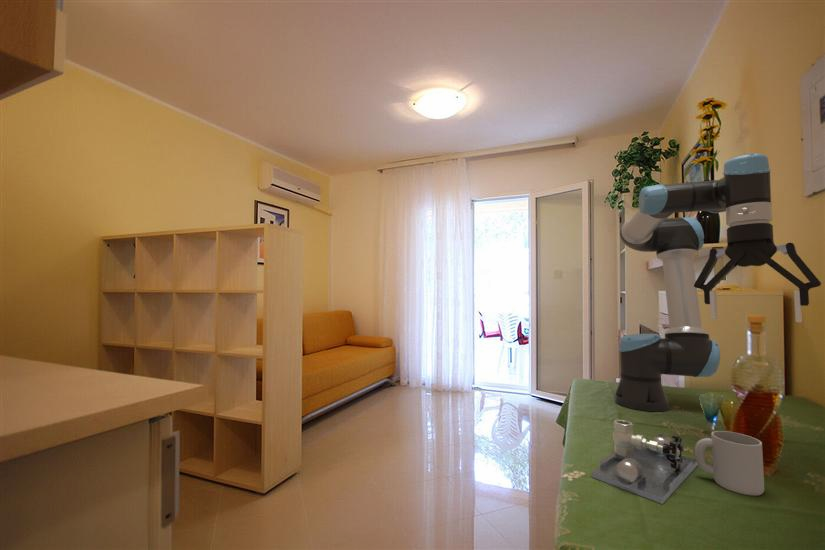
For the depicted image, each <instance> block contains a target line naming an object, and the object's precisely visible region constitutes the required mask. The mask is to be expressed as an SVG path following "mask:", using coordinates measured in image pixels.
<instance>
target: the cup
mask: <svg viewBox="0 0 825 550" xmlns="http://www.w3.org/2000/svg"><path fill="white" fill-rule="evenodd" d="M708 447H709V448H710V447H711V457H712V458H711V459H712V465H710V464H709V463H708V462H707V460H706V457H705V455H706V454H705V453H706V449H707V448H708ZM693 449H694V450H693V451H694V453H693V454H694V459H695V460H696V462H697V464H698V467H699V468H700V469H702V471H703V472H706V473H708V474H711V475H712V477H713V479H714V481H715V482H716V484H717V485H718V486H720V487H722V488H723V489H725V490H727V491H730V492H734V493H736V494H740V495H744V496H751V497H757V496H762V495H763V494H764V492H765V475H764V474H765V473H764V472H765V471H764V458H763V456H764V454H763V442H762V441H761V440H759V439H758V438H756V437H752V436H751V435H746V434H743V433H740V432H739V433H738V432H733V431H726V430H715V431H712V432H711V438H709V437H705V438H701V439H699V440H698V441H697V442H696V443H695V445H694V448H693Z"/></svg>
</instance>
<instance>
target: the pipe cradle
mask: <svg viewBox="0 0 825 550" xmlns="http://www.w3.org/2000/svg"><path fill="white" fill-rule="evenodd" d="M650 440H651V441H655V442H658V443H659V445H662V446H663V444H668V443H669V442H670V441H673V440H672V438H670V436H668V435H666V434H662V433H660V434H657V435H656V436H654V437H653V438H652V439H650ZM633 448H634V456H632V457H624V456H620V455H618V454H616V453H615V451H613V452H612V453H610V454H609V455H607V456H605V457H603V458H602V459H601V460H599V466H598V467H596V468H595V469H593V470H592V471H591V475H590V476H591V478H593V479H595V480H598V481H601V482H603V483H606V484H608V485H611V486H613V487H616V488H619V489H622V490H623V491H627V492H629V493H632V494H634V495H637V496H640V497H643V498H646V499H648V500H650V501H653V502H655V503H659V504H660V505H664V503H665V502H666V501H667V500H668V499H669V497H671V496H672V495H673V494H674V492H675V491H676V490H677V489H678V488H679V487H680V486H681V484H682V483H684V481H685V480H686V479H687V478H688V477H689V476H690V475H691V474H692V473H693V471H694V470H695V469H696V468H697V466H698V467H699V465H698V464H697V462H696V459H695V458H690V457H687V456H684V455H682V457H683V463H680V465H681V469H680V470H677V469H674V468H671V466H670V464H671V463H672V462H670V461H669V460H668V459H667V457H666V455H665V454H663V451H661V450H658V452H656V451H653V450H650V449H649V448H648V447H647V449H646V448H644V450H643V451H642V450H638V449H636V447H634V446H633Z"/></svg>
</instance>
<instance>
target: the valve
mask: <svg viewBox="0 0 825 550" xmlns="http://www.w3.org/2000/svg"><path fill="white" fill-rule="evenodd" d="M671 437H672V438H671V439H674V440H672V441H670V442H669V443H668V444H663V446H662V445H659V443H658V442H655V441H651V440H652V439H650V440H649V441H648V440H647V439H646V438H645V435H643V434H639V433H638V434H634V424H633V422H631V421H629V420H625V419H614V420H613V431H612V440H613V442H614V445H613V447H614V452H615V453H616V454H618V455H620V456H624V457H632V456H634V448H633V446H634V447H636V449H638V450H642V451H643V450H644V448H646V449H647V447H648V448H649V449H650V450H653V451H656V452H658V450H661V451H663V454H665V455H666V457H667V459H668V460H669V461H670V462H672V463H671V464H670V466H671V468H674V469H677V470H680V469H681V465H680V463H683V457H682V456H683V455H682V454H683V453H684V450H685V447H684V445H682V443H683V438H682V437H683V436H680V435H678V434H674V433H673V434H672V436H671Z"/></svg>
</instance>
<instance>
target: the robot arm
mask: <svg viewBox="0 0 825 550" xmlns="http://www.w3.org/2000/svg"><path fill="white" fill-rule="evenodd" d="M771 171H772V169H771V168H770V164H769V157H768V156H767V155H766V154H763V153H750V154H743V155H740V156H735V157H733V158H731V159H728V160H727V161H726V162H724V165H723V172H722V175H723V177H722V178H719V179H715V180H713V179H712V180H703V181H692V182H681V183H668V184H662V183H661V184H655V185H654V184H653V185H649V186H644V187H642V188H641V190H639V191H640V192H639V196H638V210H637V211H636V212H635V214H634V215H633V216H632V218H629V219H627V220H626V221H625V222H624V223H623V224H622V225H621V228H620V230H619V237H620V240H621V241H622V243H623V244H624V245H625V246H626V247H628V248H629V249H632V250H634V251H638V252H643V253H644V252H646V253H647V252H649V253H652V252H654V253H656V258H657V259H658V260H660V261H661V262H662V268H663V278H664V286H665V287H664V290H665V297H666V298H665V299H666V305H667V306H666V308H667V318H668V325H669V329H668V330H667V331H665V332H664V338H661V335H660V334H658V333H634V334H627V335H623V336H621V337H620V339H619V346H618V347H619V348H618V352H619V372H620V373H619V377H620V378H619V382H618V386H617V388H616V390H615V393H614V394H615V395H614V401H615V403H616V404H617V405H619V406H622V407H625V408H629V409H633V410H637V411H638V410H639V411H646V412H665V411H668V410H669V409H670V402H669V398H668V396H667V394H666V392H665V389H664V387H663V384H662V375H665V376H666V375H668V376H679V377H680V376H681V377H694V378H698V377H699V378H701V377H702V378H709V377H712V376H713V375H715V374H716V372H717V371H718V370H719V369H718V368H719V367H720V361H721V349H720V346H719V344H718V342H717V341H715V340H713V339H711V338H710V334H709V333H708V332H707V331H706V330H705V329H703V326H702V318H701V311H700V303H699V294H698V289H700V290H702V291H703V296H704V298H703V300H704V304H705V305H709V309H710V312H709V313H710V319H711V320H717V319H718V301H717V299H718V298H717V290H713V289H714V288H715V287H716V286H717V285H718V284H719V283H720V282H721V281H722V280H723V279H724V278H726V276H728V275H729V274H730V273H731V271H732V270H734V269H736V267H737V266H738V267H741V268H747V267H751V266H752V267H753V266H754V267H762V266H764V265H765V264H767V265H768V266H769V267H771V269H773V270H774V271H776V272H777V273H778V274H780V275H781V276H782V277H783V278H785V279H786V280H788V281H789V282H790V283H792V284H793V285H794V286H795V287H796V288H798V290H796V289H795V290H793V297H794V312H795V313H794V314H795V316H794V317H795V323H802V322H803V313H802V311H803V310H802V306H803V307H806V306H807V307H808V306H809V305H810V296H809V291H810V290H811V289H815V288H818V287H820V286H822V282H821V281H820V280H819V278H818V277H817V276H816V275H815V274H814V273H813V272H812V270H811V269H810V267H808V265H807V264H806V262H804V260H803V259H802V258H801V257H800V256H799V255H798V253H797V249H796V248H797V247H796V245H795V244H794V243H793V242H787V243H785V244H779V245H776V244H775V241H774V240H775V239H774V227H773V226H774V225H773V224H772V223H770V222H772V221H773V206H772V194H771ZM692 212H693V213H694V212H708V213H712V214H719V213H720V214H721V213H724V212H725V218H726V219H725V221H726V224H725V225H726V226H728V228H726V242H727V244H726V245H727V246H726V248H725V249H716V248H711V249H710V250H709V254H708V255H709V257H708V259H707V261H706V262H705V265H704V266H703V268H702V270H701V272H700V273H699V275H698V277H697V279H696V272H695V271H696V270H695V263H694V259H695V257H696V256H698V254H699V250H701V249H702V248H703V247H704V243H705V241H704V239H705V234H704V230H703V229H704V228H703V227H702V224H701V223H700V222H699V220H697V219H696V218H694V217H690V216H689V217H688V216H687V217H681V216H678V217H670V216H671V215H673V214H676V213H692ZM777 251H778V252H781V253H782V254H783V255H788V257H789V258H790V260H791V261H792V262H793V263H794V265H796V267H797V268H798V269H799V270H800V272H801V273H802V274H803V275H804V277H805V278H806V279H807V281H808V282H803V281H802V280H801V279H800V278H798V277H797V276H795V274H793V273H791V271H788V270H787V268H785V267H783V266H782V265H781V264H779V263H778V262H776V261H775V260H774V259H773V258H772V257H773V256H774V255H775V254H777ZM724 255H725V256H726V257H728V259H729V260H728V261H727V263H725V265H724V266H723V267H722V268H721V269H720V270H719V271H718V272H717V273H716V274H715V275H714V276H713V277H711V279H710V280H709V281H707V280H708V278H709V277H710V274H711V273H712V271H713V270H714V267H715V266H716V264H717V263H718V260H719V259H721V258H722V257H723V256H724ZM706 281H707V283H706ZM705 283H706V284H705Z"/></svg>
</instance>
